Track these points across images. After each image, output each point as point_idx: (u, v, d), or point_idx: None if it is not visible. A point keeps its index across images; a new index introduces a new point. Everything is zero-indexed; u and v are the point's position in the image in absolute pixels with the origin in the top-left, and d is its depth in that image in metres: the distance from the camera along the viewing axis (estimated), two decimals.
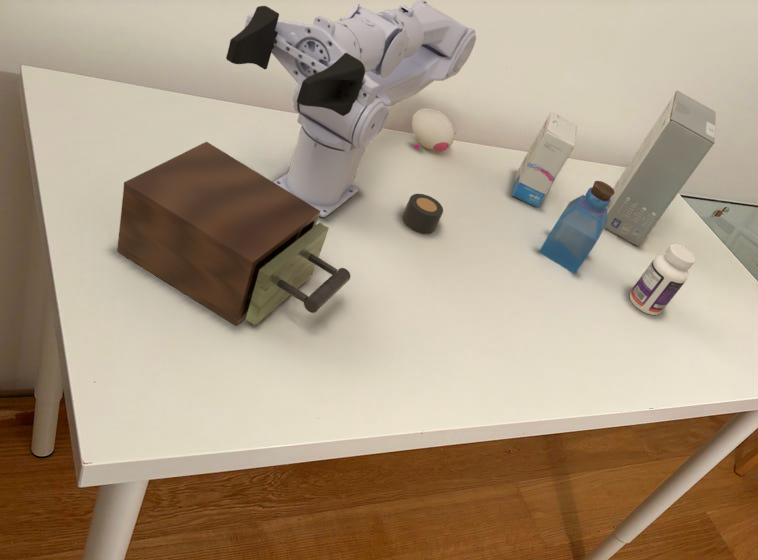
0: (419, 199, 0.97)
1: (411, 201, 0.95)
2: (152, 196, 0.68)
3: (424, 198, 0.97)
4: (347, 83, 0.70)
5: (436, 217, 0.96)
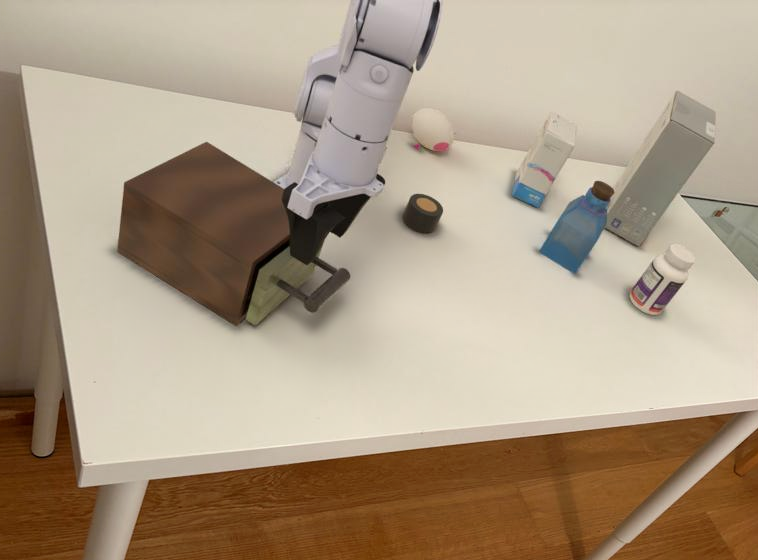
0: (419, 199, 0.97)
1: (411, 201, 0.95)
2: (152, 196, 0.68)
3: (424, 198, 0.97)
4: None
5: (436, 217, 0.96)
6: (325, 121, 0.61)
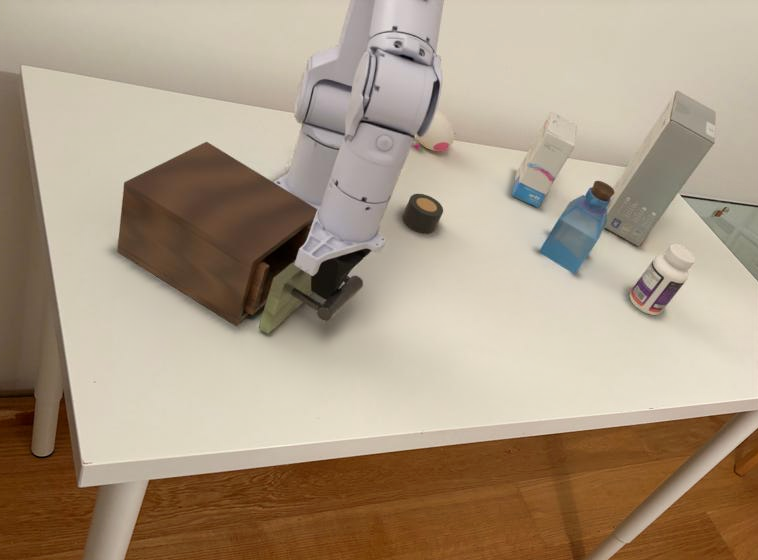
0: (419, 199, 0.97)
1: (411, 201, 0.95)
2: (152, 196, 0.68)
3: (424, 198, 0.97)
4: None
5: (436, 217, 0.96)
6: (330, 182, 0.64)
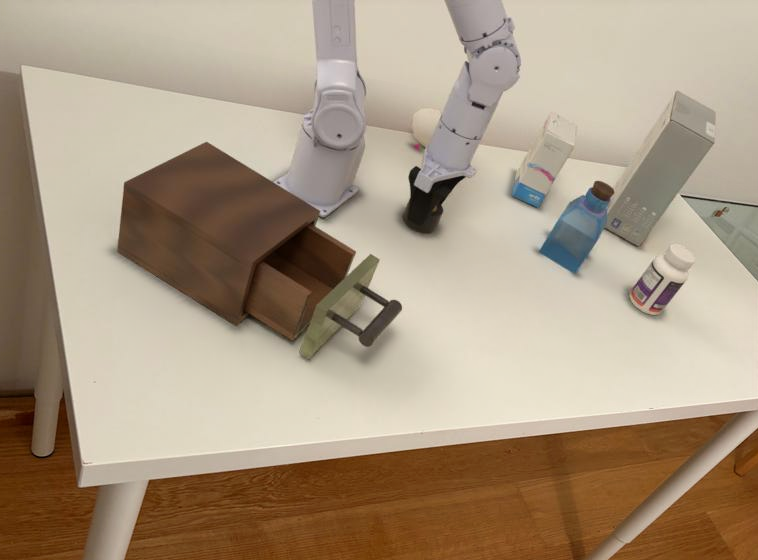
0: None
1: None
2: (152, 196, 0.68)
3: None
4: None
5: (436, 217, 0.96)
6: (440, 124, 0.88)
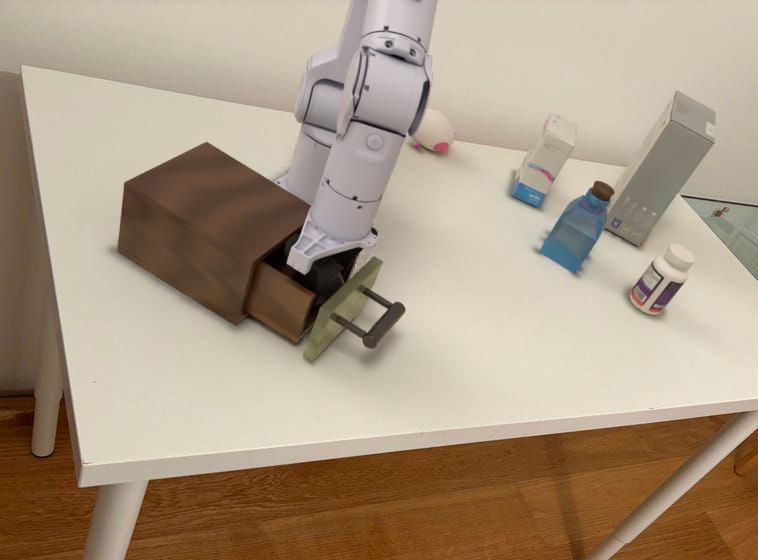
0: None
1: None
2: (152, 196, 0.68)
3: None
4: None
5: None
6: (322, 181, 0.65)
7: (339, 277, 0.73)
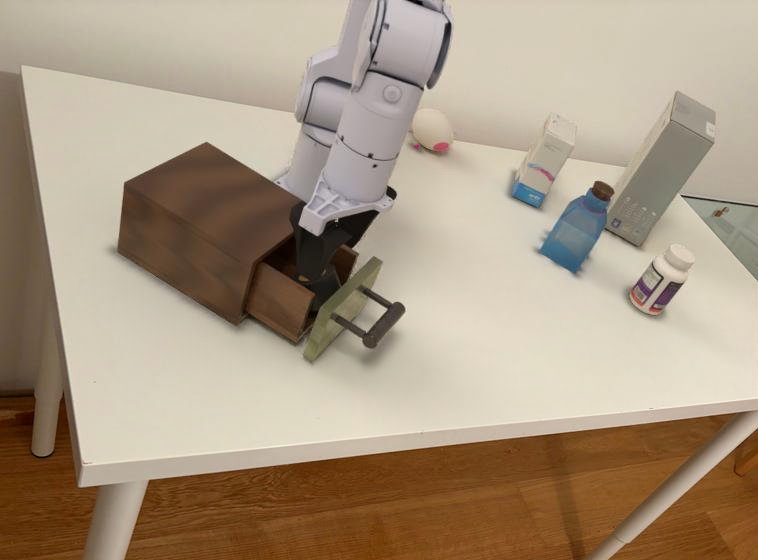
0: None
1: None
2: (152, 196, 0.68)
3: None
4: None
5: (326, 279, 0.72)
6: (336, 139, 0.62)
7: (338, 284, 0.74)
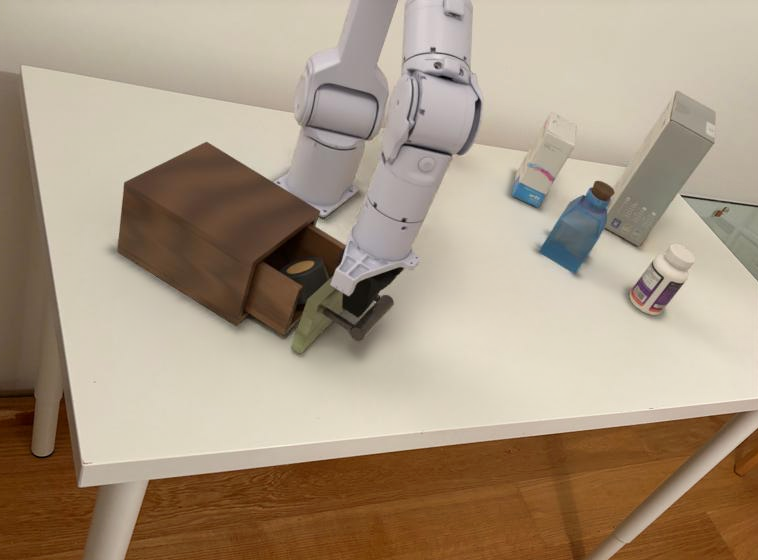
0: (290, 267, 0.74)
1: None
2: (152, 196, 0.68)
3: (298, 262, 0.75)
4: None
5: (314, 272, 0.72)
6: (366, 202, 0.64)
7: (326, 277, 0.74)
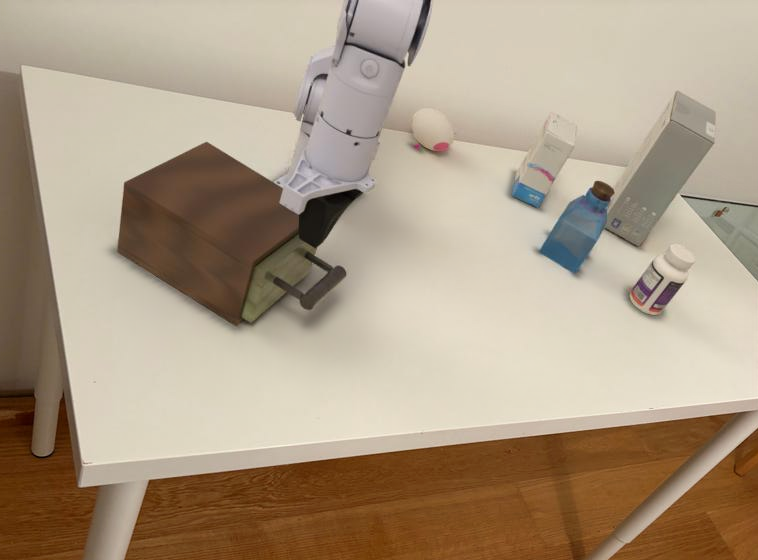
0: None
1: None
2: (152, 196, 0.68)
3: None
4: None
5: None
6: (317, 116, 0.61)
7: (277, 248, 0.74)
